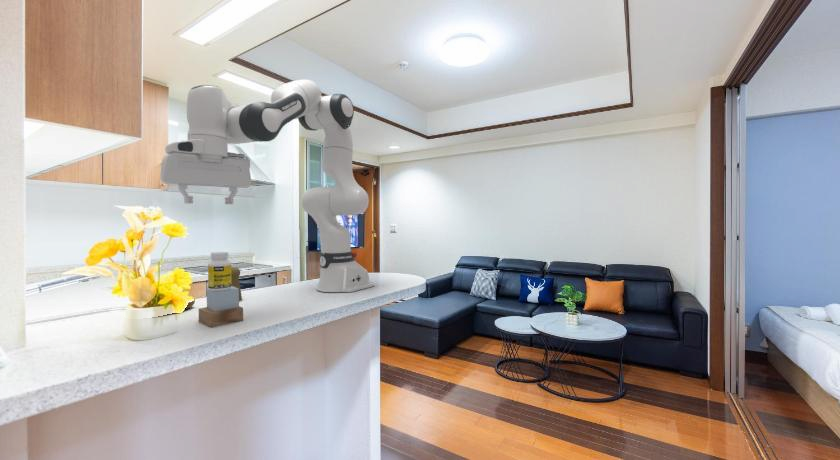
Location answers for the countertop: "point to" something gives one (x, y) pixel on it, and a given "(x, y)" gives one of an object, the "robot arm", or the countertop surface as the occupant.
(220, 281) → the supplement bottle
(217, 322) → the base block
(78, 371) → the countertop surface
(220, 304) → the blue block
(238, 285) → the cork
